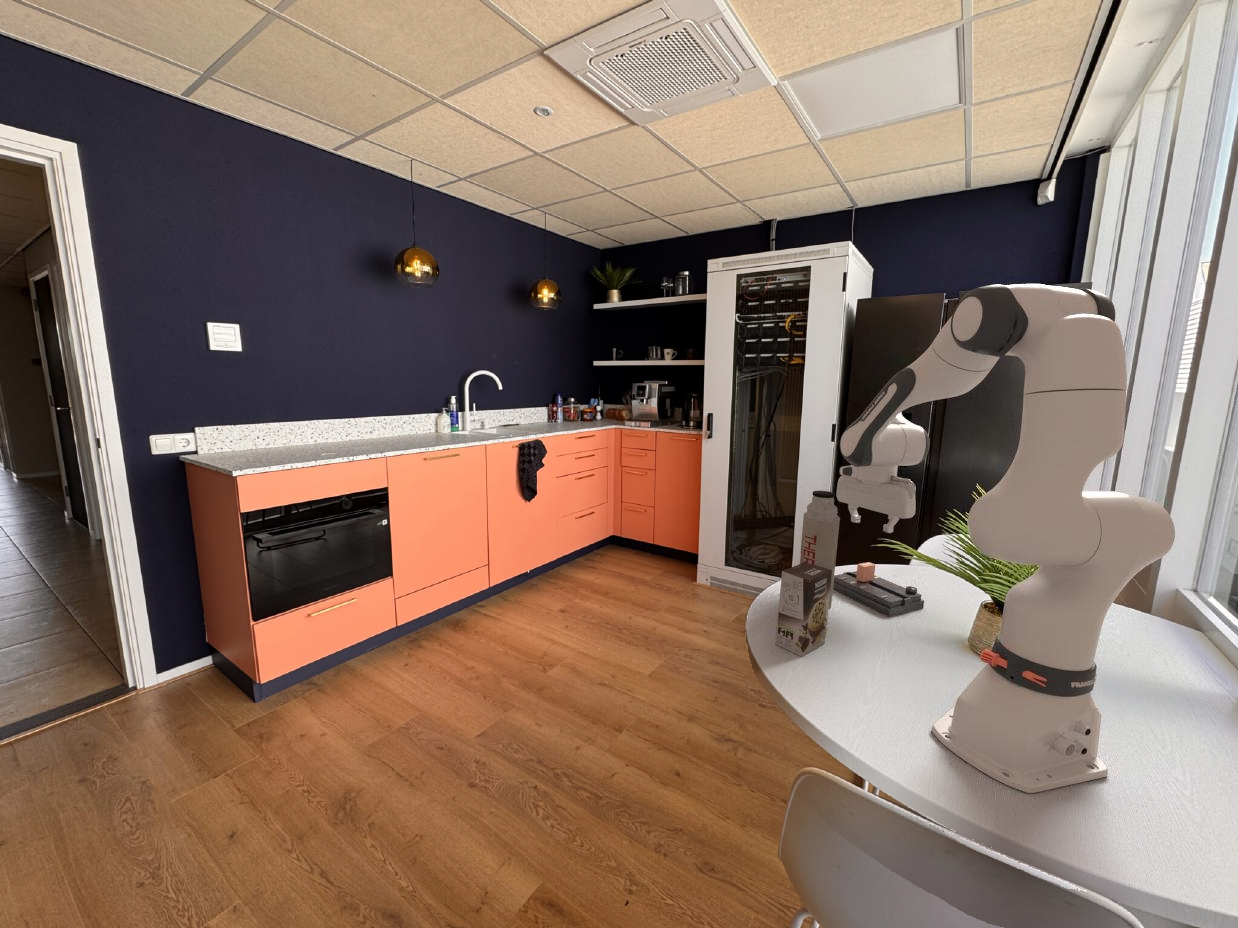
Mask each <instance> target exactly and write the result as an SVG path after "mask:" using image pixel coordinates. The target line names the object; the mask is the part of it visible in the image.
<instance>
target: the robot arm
mask: <svg viewBox="0 0 1238 928" xmlns="http://www.w3.org/2000/svg"><path fill="white" fill-rule="evenodd" d="M1115 321H1116V308H1115V306H1114V304H1113V301H1112V300H1111V298H1110V297H1108V296H1107V295H1105V294H1104V293H1101V292H1099V291H1096V290H1092V289H1088V288H1084V287H1074V288H1070V287H1066V286H1065V287H1064V286H1056V285H1055V286H1054V285H1046V284H1041V283H1025V284H1024V283H1022V284H1021V283H1020V284H1009V285H1008V284H1007V285H1004V284H1001V283H1000V284H990V285H989V284H988V285H985V286H980V287H977V288H974V289H971V290H969V291H968V292H966V294H964V295H963V296H962V297H961V299H960V300H959V301H958V303H957V304H956V306H955V307H954V310H953V312H952V315H951V316H950V318H949V319H948V320H947V322H945V324H944V325H943V327H942V328H941V329H940V331H939V332H938V334H937V335H936V337H935V338H934V340H933V341H932V343H931V344H930V346H929V347H928V348H927V349H926V350H925V351H924V352H923V353H922V354H921V355H920V356H918V358H917V359H916V360H914V361H913V362H912V363H910V364H909V365H907V366H906V367H904V368H903V369H901V370H899V371H897V372H896V373H895V374H894V375H893V376H892V377H891V378H890V379H889V380H888V381H887V383H886V384H885V385H884V386H883V387H882V389H881V390H880V391H879V392H878V393H877V394H876V396H875V397H874V398H873V399H872V400H871V402H870V403H869V404H868V406H867V407H866V408H865V409H864V411H863V412H862V413H861V414H860V416H859V417H858V418H857V419H856V420H854V421H853V422H852V423H851V424H850V425H848V426H847V428H845V430H844V431H843V433H842V435H841V437H840V440H839V451H840V454H841V455H842V457H843V458H844V460H846V461H847V462H848V463H849V464H850V465H845V466H841V467H840V468H839V475H840V477H839V478H838V481H837V484H836V485H837V486H836V494H835V496H836V498H837V501H838V502H840V503H844V504H847V505H848V506H847V509H848V511H849V514H850V522H852V523H857V524H860V523H861V517H862V516H861V515H859V513H858V508H859V507H860V508H862V509H866V510H870V511H873V512H878V513H881V514H885V515H887V516H888V517H887V519H888V522H887V524H886V523H885V524H883V526H882V527H883V529H882V531H883V532H885V533H887V534H891V533H893V532H894V528H895V527H894V526H895V525H896V524H897V523H898V522H899V520H900V519H911V518H913V517H914V516H915V514H916V510H917V509H916V508H917V507H916V505H917V504H916V492H917V491H916V490H917V487H916V484H915V483H914V482H913V481H911V479H909V478H903V477H900V476H898V467H900V466H901V467H902V466H903V467H904V466H906V467H907V466H915V465H919V464H921V463H922V462H923V461H924V460H925V459H926V457H927V455H928V454H929V450H930V444H931V443H930V442H931V441H930V437H929V434H928V433H927V431H926V430H925V429H924V427H922V426H921V425H918V424H916V423H913V422H911V421H910V420H908V419H906V417H904V416H903V413H902V412H903V411H905V410H907V409H909V408H910V407H914V406H916V405H921V404H923V403H927V402H933V401H937V400H942V399H943V400H944V399H949V398H954V397H959V396H962V395H964V394H967V393H969V392H970V391H971V390H973V389H974V388H975V387H977V386H978V385H979V384H980V383H981V382H982V381H983V380H984V379H985V378H986V377H987V376H988V374H989V373H990V371H991V370H992V369H993V368H994V366H995V365H996V364H997V362H998V360H999V359H1000V358H1002V357H1004V356H1011V357H1018V358H1019V359H1020V360H1021V361H1022V363H1023V364H1024V370H1025V371H1024V372H1025V375H1024V383H1023V384H1024V387H1023V402H1022V417H1021V425H1020V436H1019V442H1018V446H1017V450H1016V453H1015V454H1014V455H1015V456H1014V458H1013V461H1012V463H1011V465H1010V467H1009V468H1008V470H1006V473H1005V474H1004V475H1003V476H1002V478H1001V480H1000V481H999V482H998V483H997V484H996V485H995V486H994V487H993V488H992V489H990V490H988V491H987V492H986V493H985V494H983V495H981V496H980V497H979V498H977V500H976V501H974V503H973V504H972V506H971V508H970V509H969V512H968V517H967V531H968V535H969V538H970V539H971V541H972V543H973V544H974V545H973V546H975V547H976V548H977V550H978V551H979V552H980V553H981V554H983V555H984V556H986V557H988V558H991V559H995V560H999V561H1004V562H1007V563H1011V564H1016V565H1017V564H1018V565H1022V566H1023V565H1024V566H1039V567H1038V568H1037V570H1036V571H1034V573H1033V574H1031V575H1030V576H1028V577H1027V578H1025V579H1024V580H1022V581H1019V582H1018V583H1016V584H1015V585H1013V586H1012V587H1011V588H1010V589H1009V590H1008V592H1007V594H1006V595H1005V599H1004V603H1003V604H1004V605H1003V610H1002V611H1003V612H1002V617H1001V624H1000V629H999V630H1000V631H999V634H998V635H997V636H996V638H995V640H994V642H993V643H992V645H991V648H990V649H988V648H985V649H983V650H982V651H981V653H980V657H979V658H980V661H981V662H983V663H986V664H985V665H984V666H983V668H982V669H980V671H979V672H978V673H977V674H976V675H975V677H974V678H973V679H972V680H971V681H970V682H969V684H968V685H967V686H966V687H965V689H964V690H963V691H962V692H961V693H960V694H959V696H958V697H957V699H956V702H955V704H954V706H952V707H951V708H950V709H949V710H947V711H946V712H945V713H944V714H942V716H940V717H939V718H938V719H937V720H936V721H935V722H934V723H933V724H932V727H931V732H932V733H933V734H934V736H935V737H936V739H938V740H939V742H940V743H942V744H943V746H945V747H946V748H948V749H949V750H950V751H952V753H954V754H955V755H956V756H957V757H959V758H961V759H962V760H964V761H965V762H966V763H968V764H969V765H971V766H972V767H974V768H976V769H977V770H979V771H981V772H982V773H984V774H985V775H987V776H989V777H990V778H992V779H995V780H996V781H998V782H1001V783H1003V784H1004V785H1006V786H1009V787H1011V788H1013V789H1016V790H1019V791H1022V792H1024V793H1028V794H1034V793H1039V792H1044V791H1048V790H1052V789H1057V788H1061V787H1066V786H1070V785H1075V784H1079V783H1084V782H1088V781H1092V780H1093V781H1094V780H1097V779H1102V778H1106V777H1108V775H1109V774H1108V771H1109V768H1108V766H1107V765H1106V763H1105V762H1103V760H1101V758H1099V756H1098V753H1099V752H1098V751H1099V743H1100V742H1099V741H1100V731H1101V725H1102V724H1101V722H1102V713H1101V712H1100V709H1099V708H1098V707H1097V705H1096V704H1095V701H1094V699H1093V696H1092V694H1091V692H1092V691H1093V690H1094V688H1095V687H1094V686H1095V683H1096V680H1097V674H1098V673H1097V669H1098V665H1097V663H1096V662H1095V657H1096V655H1097V654H1096V653H1097V648H1098V643H1099V640H1100V635H1101V632H1102V628H1103V624H1104V620H1105V618H1106V616H1107V614H1108V611H1109V609H1110V608H1111V606H1112V605H1113V603H1114V602H1115V600H1116V598H1117V597H1118V596H1119V594H1120V593H1121V591H1122V590H1123V589H1124V588H1125V587H1126V585H1128V583H1129V582H1130V581H1131V580H1132V579H1133V578H1134V577H1135V576H1136V575H1137V574H1138V573H1140V572H1141V571H1142V570H1143V569H1144V568H1145V567H1147V566H1150V565H1151V564H1153V563H1154V562H1156V561H1158V560H1160V559H1161V558H1164V557H1165V556H1166V555H1167V554H1168V553H1169V552H1170V550H1171V549H1172V547H1173V545H1174V543H1175V537H1176V527H1175V524H1174V521H1173V519H1172V516H1171V515H1170V513H1169V512H1168V511H1167V509H1165V508H1164V507H1163V506H1162V505H1161V504H1160V503H1158V502H1157V501H1154V500H1152V499H1150V498H1147V497H1142V496H1138V495H1135V494H1130V493H1125V492H1120V491H1115V490H1087V489H1086V490H1084V488H1085V485H1086V482H1087V480H1088V478H1089V477H1090V475H1091V474H1092V473H1093V471H1094V470H1095V469H1096V467H1097V466H1098V465H1100V464H1101V463H1103V462H1105V461H1106V460H1108V459H1111V458H1112V457H1114V456H1115V455H1116V454H1118V452H1119V451H1120V450H1121V448H1122V447H1123V444H1124V442H1125V440H1124V439H1125V425H1126V424H1125V423H1126V403H1127V386H1128V384H1127V383H1128V382H1127V381H1128V378H1127V375H1128V374H1127V361H1126V352H1125V347H1124V340H1123V336H1122V332H1121V329H1120V327H1119V326H1118V324H1117V323H1116V322H1115Z"/></svg>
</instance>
